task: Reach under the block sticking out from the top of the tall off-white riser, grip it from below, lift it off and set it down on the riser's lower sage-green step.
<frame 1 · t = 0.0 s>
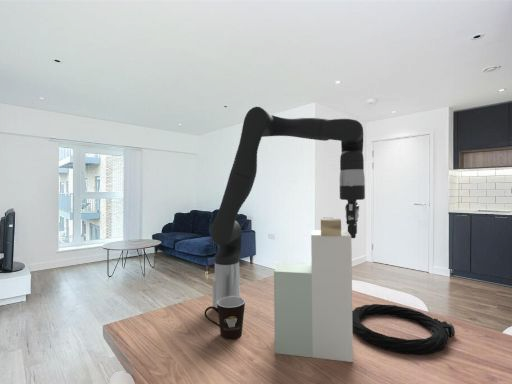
hand: (352, 235, 88), 29 cm above the table, tool pointing down, fingers open, 8 cm apart
block: (329, 230, 81), point 32 cm above the table, touching riser
coffee mug: (226, 334, 85), on the table
riser: (331, 349, 76), on the table
cable lock: (398, 332, 86), on the table
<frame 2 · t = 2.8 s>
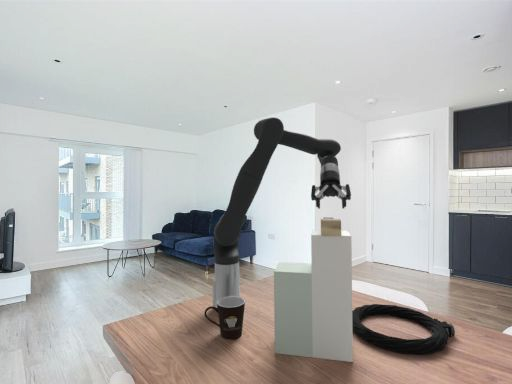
hand: (331, 207, 100), 38 cm above the table, tool tilted 45°, fingers open, 8 cm apart
nothing on the table moved.
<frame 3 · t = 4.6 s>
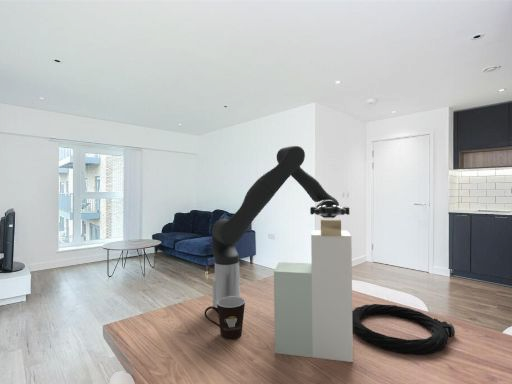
hand: (330, 211, 99), 36 cm above the table, tool horizontal, fingers open, 8 cm apart
nothing on the table moved.
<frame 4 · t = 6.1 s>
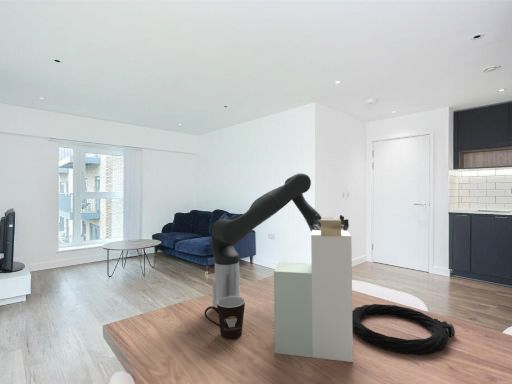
hand: (328, 217, 99), 34 cm above the table, tool pointing upward, fingers open, 8 cm apart
nothing on the table moved.
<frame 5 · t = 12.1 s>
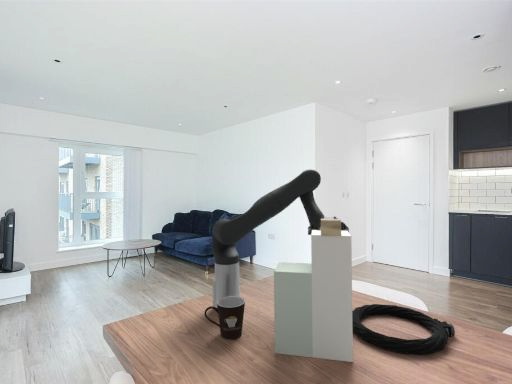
hand: (329, 219, 84), 35 cm above the table, tool pointing upward, fingers closed on block, 3 cm apart
block: (329, 230, 81), point 32 cm above the table, touching gripper, riser
everything else where it was.
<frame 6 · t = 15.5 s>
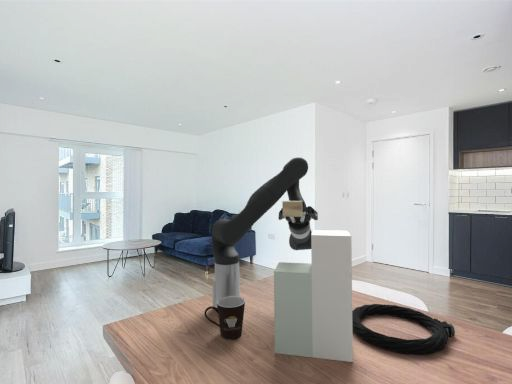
hand: (295, 203, 86), 40 cm above the table, tool pointing upward, fingers closed on block, 3 cm apart
block: (295, 213, 83), point 37 cm above the table, touching gripper
everything else where it was.
when the fingers open (27 cm above the table, at t = 18.9 s): block drops 2 cm, resting on riser.
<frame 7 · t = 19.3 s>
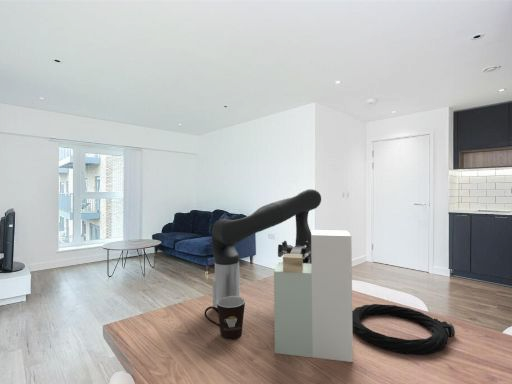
hand: (296, 243, 86), 27 cm above the table, tool pointing upward, fingers open, 6 cm apart
block: (295, 262, 84), point 22 cm above the table, touching riser
everything else where it was.
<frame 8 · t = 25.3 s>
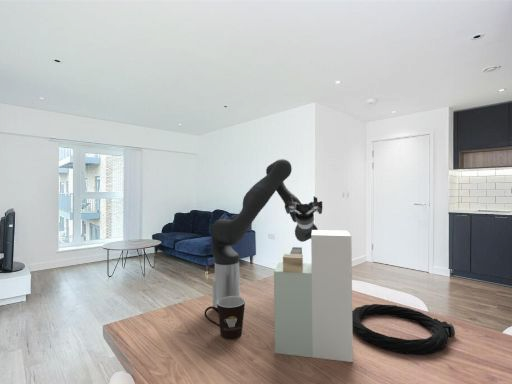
hand: (302, 198, 102), 41 cm above the table, tool pointing upward, fingers open, 8 cm apart
nothing on the table moved.
at the end: block inside the target area on the riser (0.5 cm from its centre), point 22.0 cm above the riser's base; the gripper is holding nothing; block tilted 0° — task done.
